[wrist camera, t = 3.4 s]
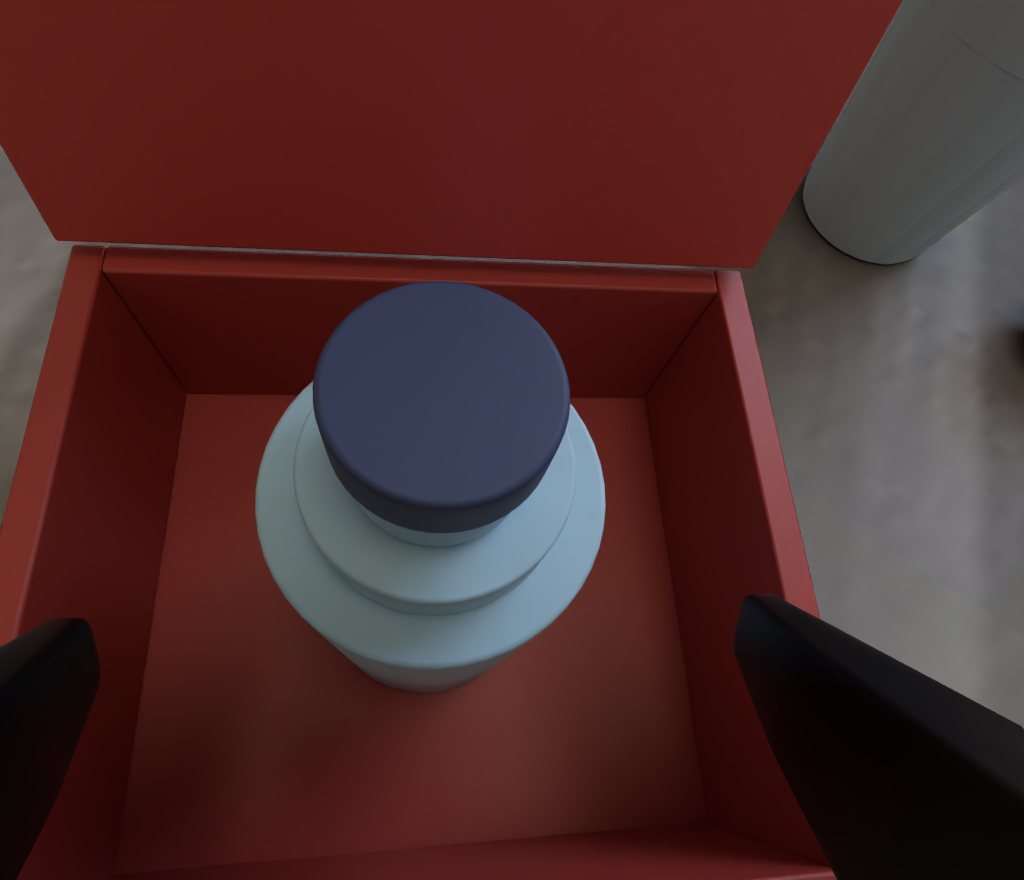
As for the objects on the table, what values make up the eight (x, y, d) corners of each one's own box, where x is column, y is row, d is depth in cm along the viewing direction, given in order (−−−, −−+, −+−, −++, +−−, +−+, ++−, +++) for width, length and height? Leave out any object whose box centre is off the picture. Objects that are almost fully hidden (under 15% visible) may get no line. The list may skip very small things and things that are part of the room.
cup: (740, 209, 26) (928, -84, 17) (824, 114, 29) (1024, -180, 20) (905, 322, 25) (1209, 77, 15) (975, 212, 28) (1266, -51, 18)
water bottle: (466, 731, 17) (563, 755, 6) (291, 633, 17) (54, 473, 6) (552, 554, 19) (746, 315, 8) (394, 471, 19) (363, 127, 8)
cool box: (726, 846, 17) (889, 913, 11) (88, 906, 15) (-130, 1029, 9) (654, 389, 22) (740, 269, 16) (173, 383, 20) (71, 243, 14)
